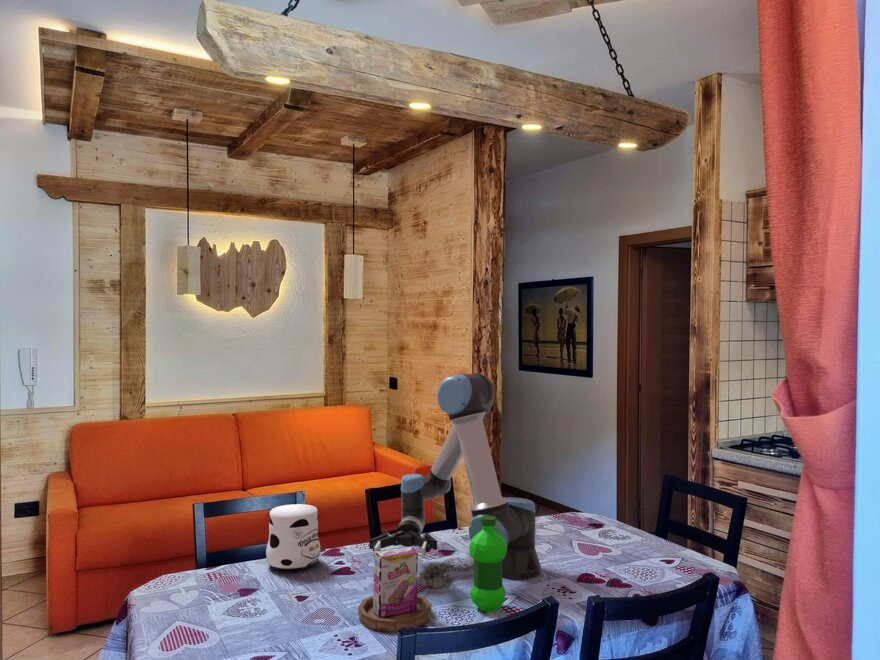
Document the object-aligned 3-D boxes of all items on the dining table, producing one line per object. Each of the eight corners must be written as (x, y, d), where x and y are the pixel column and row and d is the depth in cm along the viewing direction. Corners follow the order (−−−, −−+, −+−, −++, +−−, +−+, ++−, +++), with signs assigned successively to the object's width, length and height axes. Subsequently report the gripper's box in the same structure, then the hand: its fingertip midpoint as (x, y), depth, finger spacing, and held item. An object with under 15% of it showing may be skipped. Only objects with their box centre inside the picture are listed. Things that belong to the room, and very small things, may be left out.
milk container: (321, 572, 211) (321, 515, 211) (264, 576, 208) (265, 518, 208) (319, 554, 228) (319, 502, 228) (267, 558, 225) (267, 504, 225)
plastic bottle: (479, 597, 192) (479, 510, 192) (513, 605, 186) (513, 516, 186) (462, 610, 183) (463, 519, 183) (497, 618, 178) (497, 524, 178)
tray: (436, 604, 187) (436, 594, 187) (422, 635, 168) (422, 623, 168) (370, 599, 190) (370, 589, 190) (349, 628, 171) (350, 617, 171)
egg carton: (439, 590, 198) (439, 576, 198) (416, 586, 201) (416, 573, 201) (453, 578, 208) (453, 564, 208) (430, 574, 211) (430, 561, 211)
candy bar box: (379, 620, 174) (379, 557, 174) (372, 612, 179) (372, 551, 179) (418, 612, 179) (418, 551, 179) (410, 605, 184) (410, 545, 184)
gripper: (448, 544, 209) (443, 566, 188) (370, 543, 211) (356, 565, 190) (448, 519, 209) (442, 540, 188) (369, 519, 212) (355, 539, 190)
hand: (399, 553), depth 189 cm, fingers open, 13 cm apart
